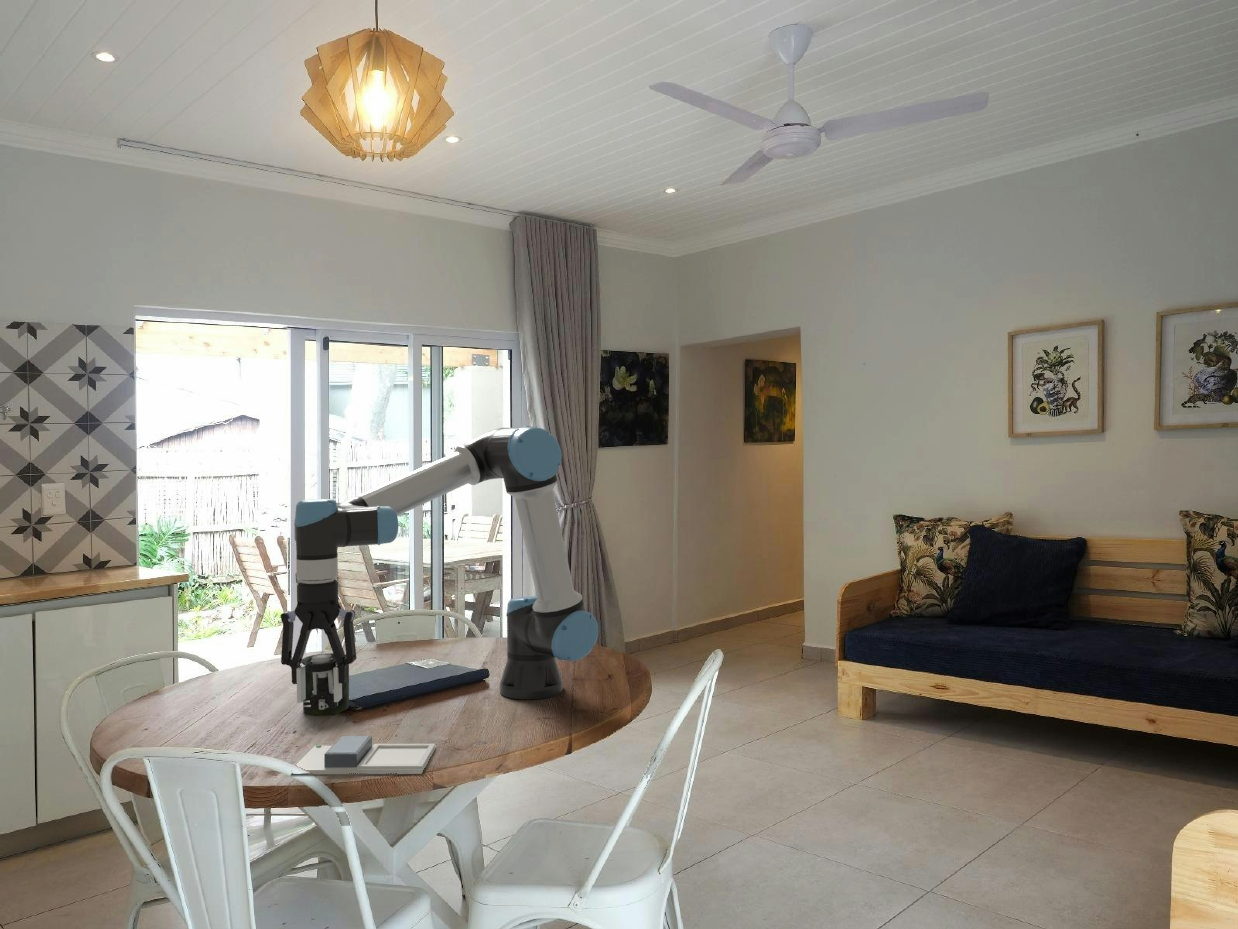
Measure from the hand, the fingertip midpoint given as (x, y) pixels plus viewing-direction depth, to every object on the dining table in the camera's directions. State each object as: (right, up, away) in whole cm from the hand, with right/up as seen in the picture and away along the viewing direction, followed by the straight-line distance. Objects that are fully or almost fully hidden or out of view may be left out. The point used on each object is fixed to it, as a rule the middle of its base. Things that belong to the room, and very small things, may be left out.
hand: (319, 700), depth 175 cm
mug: (-10, -12, +33) cm, 36 cm away
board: (+9, -12, 0) cm, 15 cm away
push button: (0, -2, 0) cm, 2 cm away
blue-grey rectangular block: (+6, -11, 0) cm, 12 cm away
